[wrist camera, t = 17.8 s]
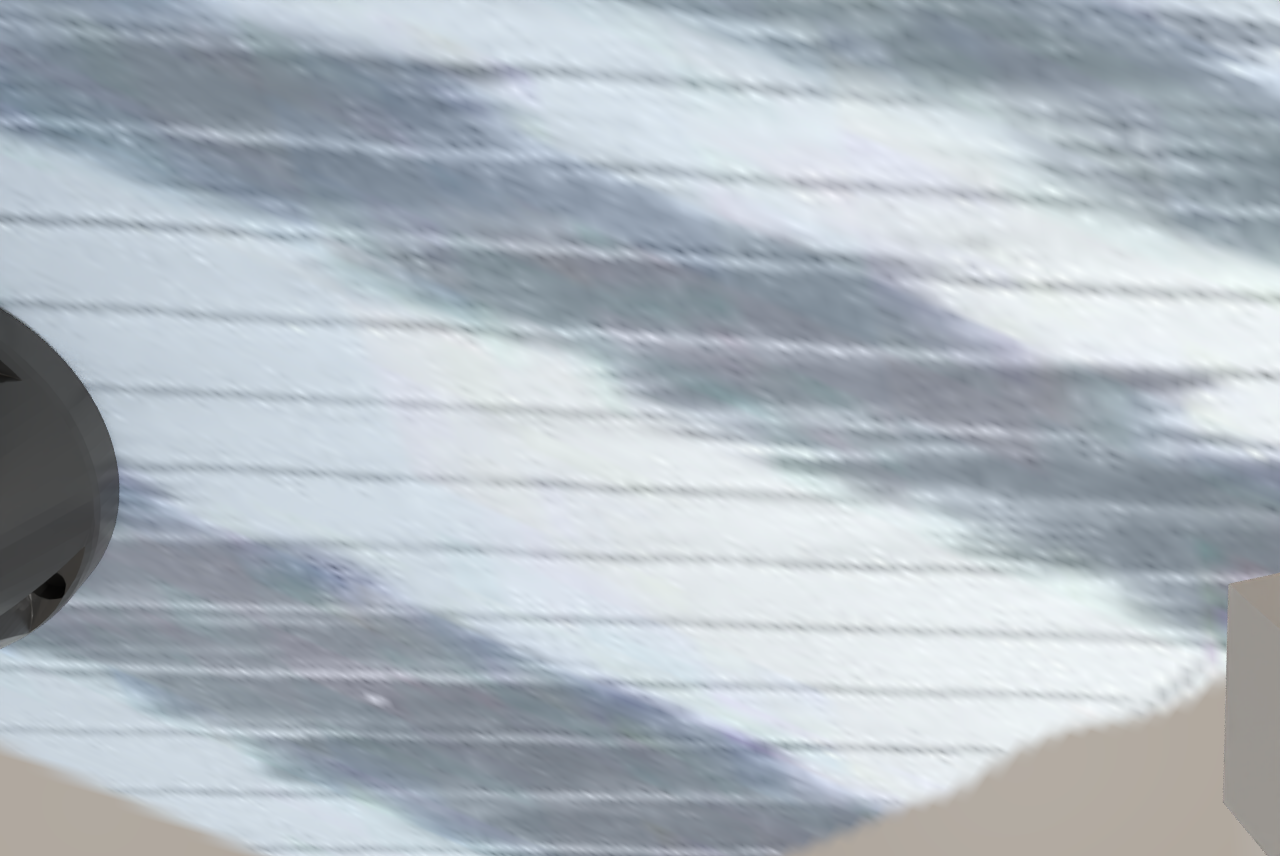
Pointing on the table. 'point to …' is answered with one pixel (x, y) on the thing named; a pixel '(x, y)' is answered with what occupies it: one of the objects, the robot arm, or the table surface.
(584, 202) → the table surface
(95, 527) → the robot arm
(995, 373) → the table surface
